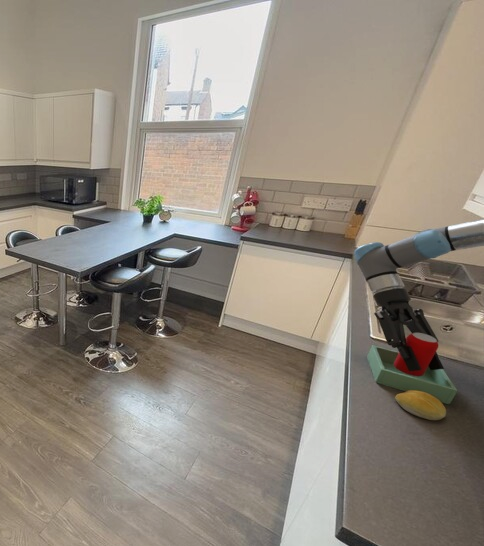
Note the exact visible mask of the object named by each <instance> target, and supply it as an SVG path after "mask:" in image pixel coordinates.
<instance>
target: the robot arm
mask: <svg viewBox="0 0 484 546" xmlns="http://www.w3.org/2000/svg"><path fill="white" fill-rule="evenodd" d="M480 247H484V218H481V219H476V220H471V221H467V222H462V223H457V224H452V225H449V226H443V227H437V228H429V229H424V230H421V231H418V232H416V233H415V234H413V235H411V236H409V237H406V238H404V239H401V240H398V241H396V242H393V243H391V244H387V245H384V243H382V242H378V241H377V242H375V241H374V242H370V243H367V244H363V245H361V246H358V247H357V248H356V249H354V252H353V255H354V258H355V260H356V264H357V265H358V267H359V269H360V272H361V273H362V276H363V277H364V280H365V282H366V283H367V286H368V287H369V288H368V289H369V291H370V294H372V298H373V299H374V300H373V301H374V302H375V304H376V306H377V307H379V308H381V310H379V311H375V312H374V313H373V315H374V316H375V318H376V319H377V320H378V323H379V325H380V328H381V330H382V333H383V336H384V338H385V341H386V343H387V345H388V346H391V348H393V349H397V351H398V352H399V353H400V355H401V357H402V358H403V359H404V362H405V364H406V366H407V368H408V370H409V371H419V370H422V369H421V367H420V365H419V363H418V360H417V358H416V356H415V354H414V352H413V350H412V348H411V346H407V342H406V337H407V336H406V332H405V328H404V327H406V328H407V329H408V330H409V332H410V334H412V333H423V334H427V335H429V336H432V337H434V338H435V339H436V340H437V342H438V343H439V339H438V337H437V336H436V334H435V332H434V330H433V329H432V327H431V325H430V323H429V321H428V320H427V318H426V317H425V312H424V310H423V308H417V309H415V308H413V307H412V306H411V305H410V303H409V302H411V300H412V298H411V296H410V294H409V292H408V289H406V288H405V286H406V285H405V284H404V282H403V279H402V278H401V276H400V274H399V272H398V271H397V269H400V268H404V267H406V266H410V265H414V264H417V263H421V262H424V261H427V260H431V259H436V258H438V257H441V256H444V255H446V254H449V253H450V252H455V251H460V250H466V249H472V248H480ZM428 366H429V368H430V370H438V369H443V370H445V367H444V365H443V364H442V362H441V359H440V358H439V354H438V352H437V351H436V352H435V354H434V356H433V358H432V360H431V362H430V363H429V365H428Z"/></svg>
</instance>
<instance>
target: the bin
mask: <svg viewBox="0 0 484 546" xmlns="http://www.w3.org/2000/svg"><path fill="white" fill-rule="evenodd" d="M398 354H399V351H398V350H393V349H390V348H387V347H386V348H385V347H383V346H382V347H381V346H377V345H374V344H371V347H370V349H369V351H368V353H367V356H366V359H367V362H368V364H369V368H370V370H371V374H372V375H373V379H374V382H375V383H377V384H380V385H384V386H387V387H390V388H392V389H397V390H400V391H403V392H406V391H409V390H414V391H421V392H425V393H428V394H430V395H432V396H434V397H435V398H437V399H438V400H439V401H440V402H441V403H442V404H446V405H450V404H451V403H452V401H453V399H454V397H456V394H457V393H458V389H457V388H456V387H455V385H454V383H453V382H452V381H451V379H450V378H449V376H448V375H447V373H446V371H445V369H438V370H430V368H429V366H428V367H427V369H426V371H425V373H424V374H423V375H422V376H420V377H413V376H408V375H406V374H403V373H401V372H400V371H398V370H397V369H396V368H395V366H394V362H395V360H396V358H397V356H398Z"/></svg>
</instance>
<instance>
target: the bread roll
mask: <svg viewBox="0 0 484 546" xmlns="http://www.w3.org/2000/svg"><path fill="white" fill-rule="evenodd" d="M394 399H395V401H396V402H397V404H398V405H399V406H400V407H401V408H402V409H403V410H405V411H406V412H408V413H409V414H411V415H413V416H415V417H418V418H422V419H425V420H430V421H440V420H442V419H443V418H445V417H446V416H447V409H446V406H444V403H442V402H440V401H439V400H438V399H437V398H435V397H434V396H432V395H430V394H428V393H425V392H421V391H414V390H409V391H403V392H401V393H398V394H396V395H395V398H394Z"/></svg>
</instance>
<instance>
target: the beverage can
mask: <svg viewBox="0 0 484 546" xmlns="http://www.w3.org/2000/svg"><path fill="white" fill-rule="evenodd" d="M405 337H406V342H407V346H411V348H412V350H413V352H414V354H415V356H416V358H417V360H418V363H419V365H420V367H421V369H422V370H419V371H409V370H408V368H407V366H406V364H405V362H404V359H403V358H402V357H401V355H400V353H399V354H398V356H397V358H396V360H395V362H394V366H395V368H396V369H397V370H398V371H400V372H401V373H403V374H406V375H408V376H413V377H420V376H422V375H423V374H424V373H425V371H426V369H427V367H428V365H429V363H430V362H431V360H432V358H433V356H434V354H435V352H436V353H437V352H438V351H437V350H438V349H439V341H438V342H437V340H436V339H435V338H434V337H432V336H429V335H427V334H423V333H410V334H408V335H407V336H405Z"/></svg>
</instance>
